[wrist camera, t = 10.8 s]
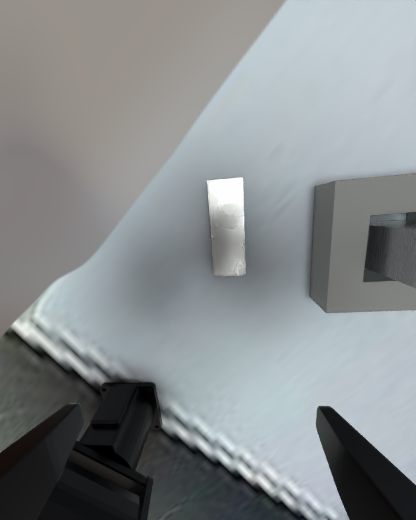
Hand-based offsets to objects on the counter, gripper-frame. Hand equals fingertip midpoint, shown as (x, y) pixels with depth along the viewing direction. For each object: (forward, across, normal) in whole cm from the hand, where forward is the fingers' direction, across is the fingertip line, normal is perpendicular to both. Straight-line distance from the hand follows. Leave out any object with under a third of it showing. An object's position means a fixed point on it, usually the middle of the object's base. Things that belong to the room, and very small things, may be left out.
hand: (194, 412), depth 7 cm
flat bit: (+12, -2, -6) cm, 14 cm away
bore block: (+12, -14, -4) cm, 19 cm away
